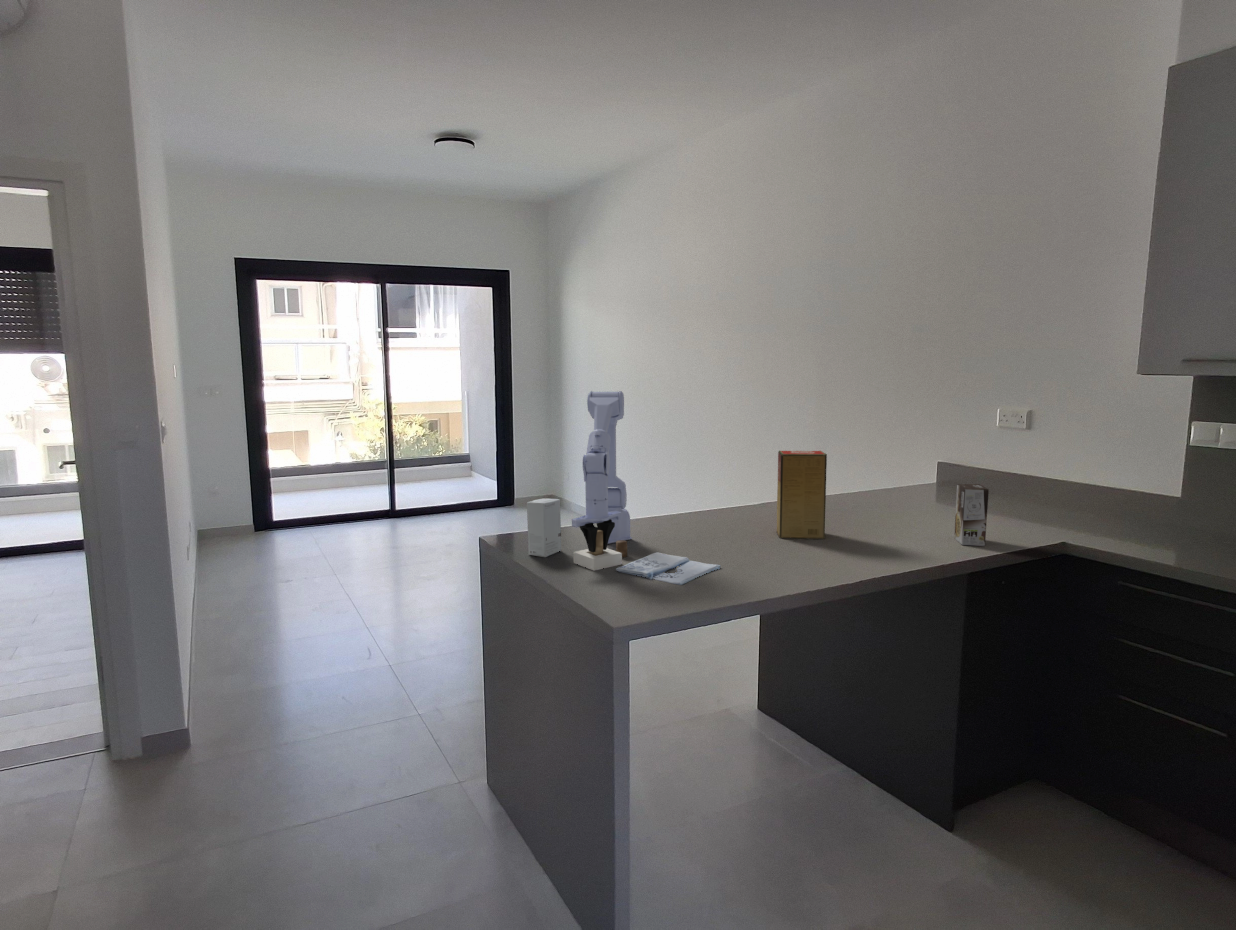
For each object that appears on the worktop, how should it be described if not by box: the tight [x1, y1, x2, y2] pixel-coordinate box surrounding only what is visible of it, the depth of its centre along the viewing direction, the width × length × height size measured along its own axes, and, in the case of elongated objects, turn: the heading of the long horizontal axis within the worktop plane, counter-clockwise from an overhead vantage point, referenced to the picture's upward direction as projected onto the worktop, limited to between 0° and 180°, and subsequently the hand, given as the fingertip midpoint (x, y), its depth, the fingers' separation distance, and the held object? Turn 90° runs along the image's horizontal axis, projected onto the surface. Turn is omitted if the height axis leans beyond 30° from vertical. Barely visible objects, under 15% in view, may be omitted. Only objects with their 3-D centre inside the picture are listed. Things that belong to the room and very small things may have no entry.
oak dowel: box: [592, 530, 603, 556], centre depth 192 cm, size 3×3×7 cm
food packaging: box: [775, 450, 828, 540], centre depth 219 cm, size 13×9×25 cm
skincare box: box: [526, 497, 562, 558], centre depth 203 cm, size 8×6×15 cm
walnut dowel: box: [615, 540, 628, 558], centre depth 200 cm, size 3×3×4 cm
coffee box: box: [953, 483, 990, 547], centre depth 209 cm, size 9×6×16 cm
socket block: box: [573, 547, 623, 572], centre depth 192 cm, size 9×9×3 cm
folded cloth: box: [615, 551, 721, 586], centre depth 186 cm, size 19×20×2 cm
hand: (597, 550), depth 192 cm, fingers closed on oak dowel, 3 cm apart
